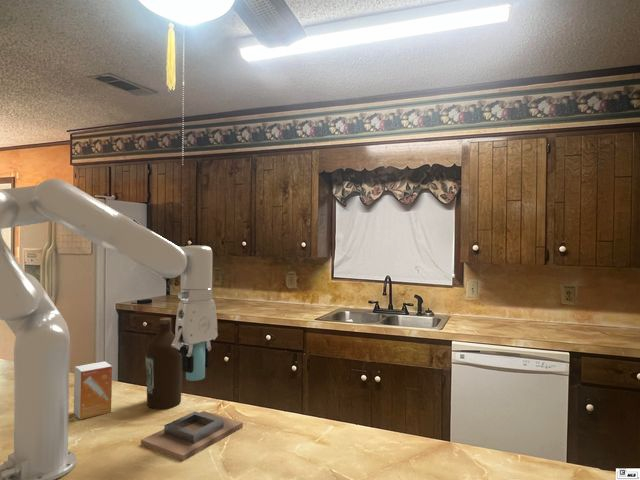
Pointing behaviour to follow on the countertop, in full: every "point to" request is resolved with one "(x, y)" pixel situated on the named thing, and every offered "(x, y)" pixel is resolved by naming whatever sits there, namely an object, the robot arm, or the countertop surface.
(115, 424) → the countertop surface
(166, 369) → the olive oil
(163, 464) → the countertop surface
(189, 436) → the collar board
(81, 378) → the small box
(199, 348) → the teal peg
